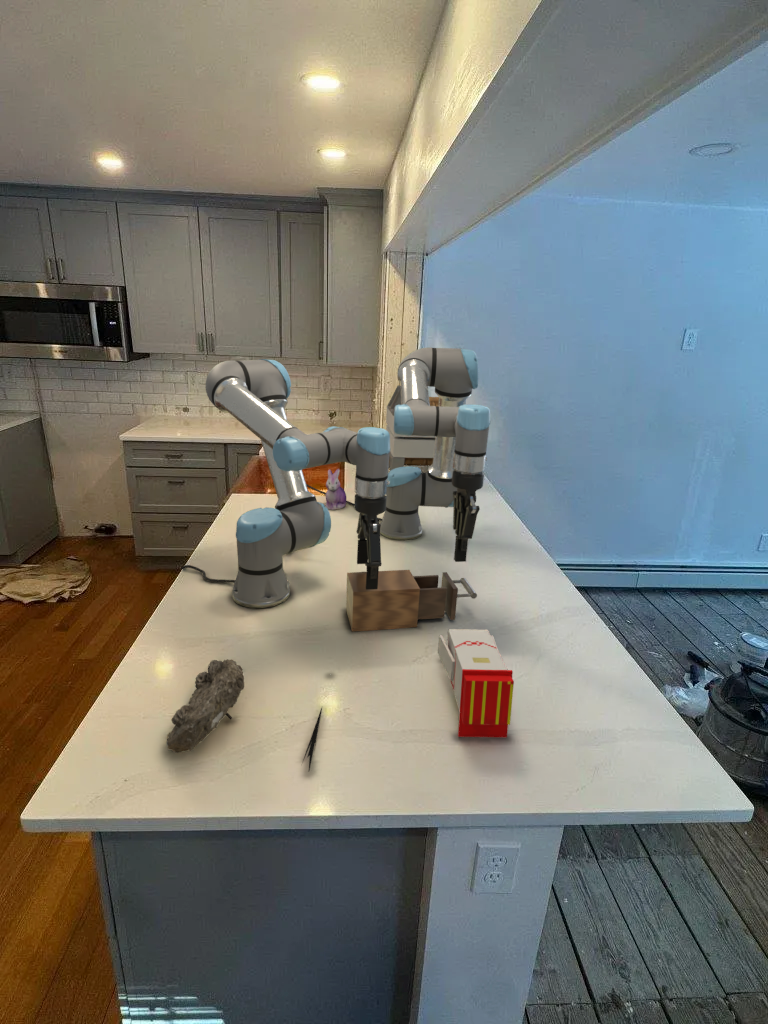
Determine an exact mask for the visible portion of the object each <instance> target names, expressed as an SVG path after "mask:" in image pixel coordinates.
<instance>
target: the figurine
mask: <svg viewBox="0 0 768 1024" xmlns="http://www.w3.org/2000/svg"><path fill="white" fill-rule="evenodd" d="M340 472H341V471H340V468H337V469H336V470H335V471H334V473H333V470H331V468H330V469H328V470H327V480H326V483H325V487H326V489H327V490H326V492H325V493H326V495H325V501H326V502H325V507H327V509H328V510H340V509H343V508H345V507H346V505H347V503H346V501H347V493H346V491H345V489H344V488H343V487H342V486H341V482H340V480H339V476H340Z"/></svg>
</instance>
